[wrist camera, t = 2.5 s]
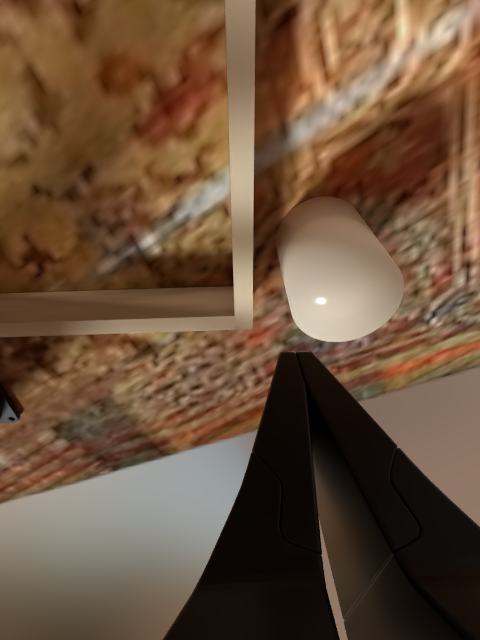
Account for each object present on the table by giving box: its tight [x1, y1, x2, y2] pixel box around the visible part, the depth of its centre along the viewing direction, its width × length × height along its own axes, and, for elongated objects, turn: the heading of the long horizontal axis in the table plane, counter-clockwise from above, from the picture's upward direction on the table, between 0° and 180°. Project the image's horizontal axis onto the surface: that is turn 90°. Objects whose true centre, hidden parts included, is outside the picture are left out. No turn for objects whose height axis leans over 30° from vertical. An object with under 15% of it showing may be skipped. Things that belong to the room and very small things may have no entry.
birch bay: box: [0, 0, 256, 337], centre depth 14 cm, size 24×16×3 cm
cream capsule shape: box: [276, 196, 404, 342], centre depth 18 cm, size 5×5×6 cm
